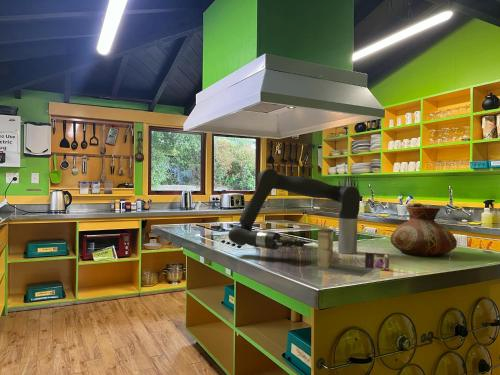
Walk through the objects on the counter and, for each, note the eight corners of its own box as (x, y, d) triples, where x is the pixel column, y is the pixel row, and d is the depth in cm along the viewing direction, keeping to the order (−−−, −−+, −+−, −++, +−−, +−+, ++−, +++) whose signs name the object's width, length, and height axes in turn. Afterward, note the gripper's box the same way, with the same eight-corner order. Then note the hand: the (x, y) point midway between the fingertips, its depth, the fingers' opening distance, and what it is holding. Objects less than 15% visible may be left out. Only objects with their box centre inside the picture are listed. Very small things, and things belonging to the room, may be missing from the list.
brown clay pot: (470, 257, 179) (471, 205, 179) (419, 261, 170) (420, 205, 170) (423, 247, 208) (424, 202, 208) (377, 249, 199) (378, 202, 198)
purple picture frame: (365, 252, 153) (388, 253, 150) (365, 254, 158) (388, 256, 155) (364, 268, 151) (388, 270, 148) (365, 270, 156) (388, 272, 153)
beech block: (323, 264, 157) (324, 228, 157) (332, 265, 154) (333, 229, 154) (317, 266, 152) (318, 229, 152) (326, 268, 150) (327, 230, 149)
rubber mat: (319, 262, 163) (319, 261, 163) (374, 270, 150) (374, 268, 150) (303, 269, 150) (303, 267, 150) (361, 278, 137) (361, 276, 137)
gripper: (260, 233, 163) (296, 236, 153) (275, 230, 174) (310, 233, 164) (260, 250, 163) (295, 255, 153) (275, 246, 174) (309, 250, 164)
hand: (303, 244), depth 159 cm, fingers closed
